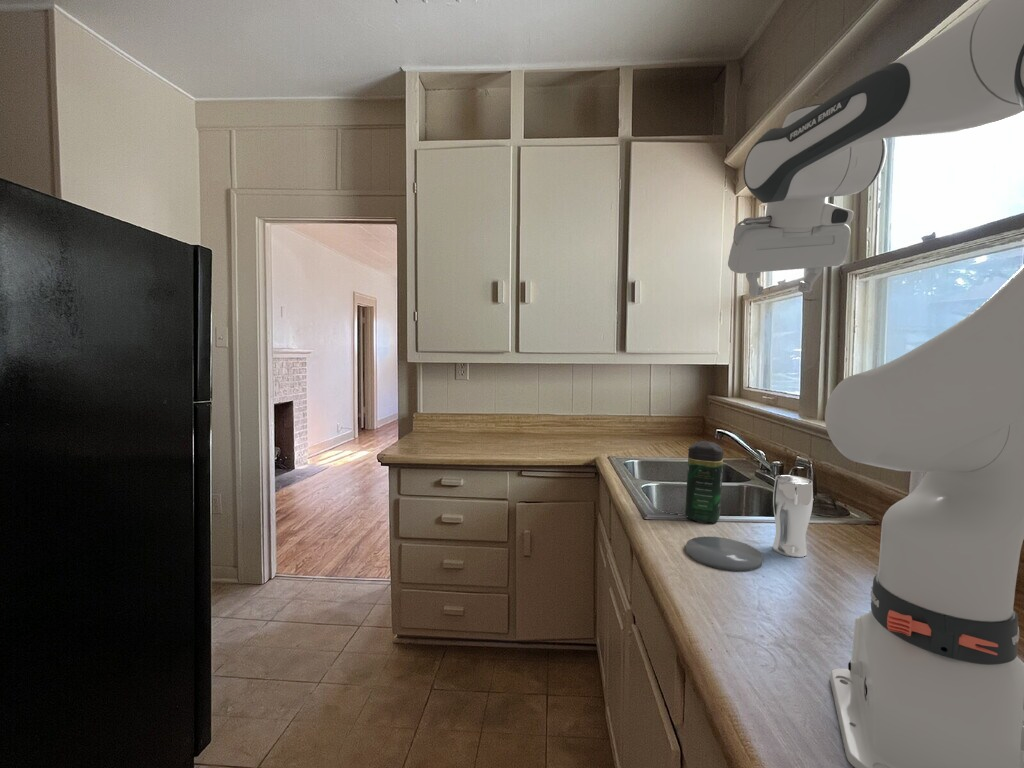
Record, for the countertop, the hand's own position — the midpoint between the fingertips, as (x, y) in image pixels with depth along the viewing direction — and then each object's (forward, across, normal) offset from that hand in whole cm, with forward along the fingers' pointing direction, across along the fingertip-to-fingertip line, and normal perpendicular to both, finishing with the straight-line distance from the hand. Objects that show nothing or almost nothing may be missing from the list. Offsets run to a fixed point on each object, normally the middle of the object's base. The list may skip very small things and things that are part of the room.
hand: (780, 293), depth 88 cm
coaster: (+49, -11, -13) cm, 52 cm away
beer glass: (+51, +4, -12) cm, 52 cm away
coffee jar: (+57, -5, +7) cm, 58 cm away
